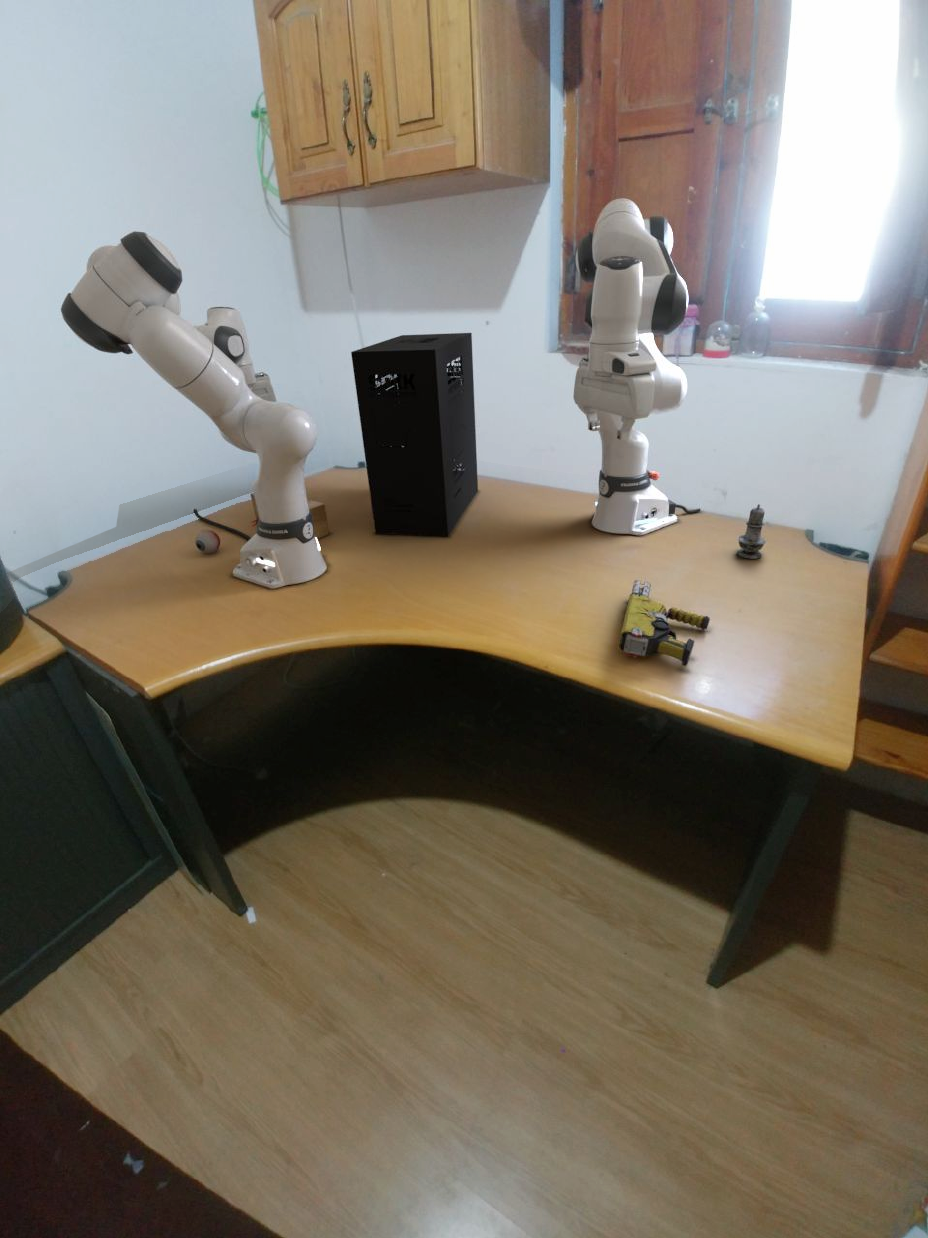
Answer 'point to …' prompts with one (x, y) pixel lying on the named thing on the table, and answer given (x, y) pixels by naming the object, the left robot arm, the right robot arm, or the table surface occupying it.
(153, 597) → the table surface
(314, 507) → the bar
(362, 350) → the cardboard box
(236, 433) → the left robot arm
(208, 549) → the eyeball
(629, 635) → the toy gun
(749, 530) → the salt shaker
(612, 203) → the right robot arm
